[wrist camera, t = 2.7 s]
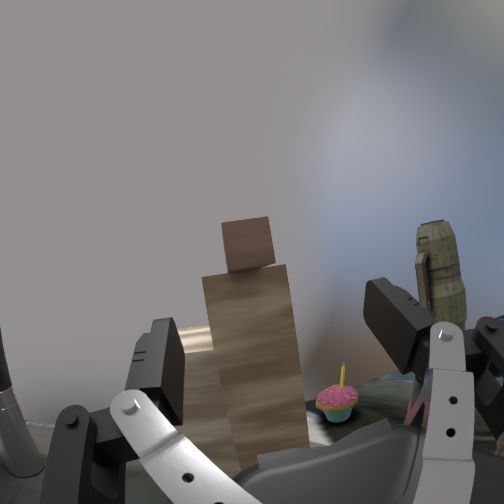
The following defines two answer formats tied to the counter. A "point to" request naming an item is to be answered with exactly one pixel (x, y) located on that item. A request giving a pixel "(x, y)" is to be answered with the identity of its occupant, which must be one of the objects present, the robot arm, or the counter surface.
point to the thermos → (440, 273)
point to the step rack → (244, 371)
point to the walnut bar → (248, 244)
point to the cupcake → (337, 401)
